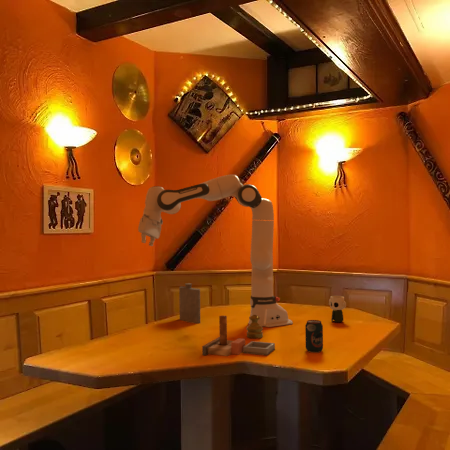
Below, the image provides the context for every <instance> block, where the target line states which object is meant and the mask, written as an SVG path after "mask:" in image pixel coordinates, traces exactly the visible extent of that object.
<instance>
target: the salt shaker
mask: <svg viewBox="0 0 450 450" xmlns="http://www.w3.org/2000/svg"><path fill="white" fill-rule="evenodd" d="M248 318H249V319H250V320H251V321H252V323H251V324H248V326H246V337H247V338H249V339H252V340H253V339H255V340H256V339H261V338H263V336H264V335H263V334H264V331H263V329H264V326H260V324H259V323H258V320H259V319H260V317H259V316H257V315H252V316H249V317H248Z"/></svg>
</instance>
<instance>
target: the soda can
mask: <svg viewBox="0 0 450 450" xmlns="http://www.w3.org/2000/svg"><path fill="white" fill-rule="evenodd" d="M323 326H324V325H323V324H322V321H321V320H319V319H308V320H306V323H305V326H304V327H305V328H304V329H305V332H304V334H305V349H306V351H307V352H309V353H316V354H319V353H321V352H322V351H323V349H324V327H323Z"/></svg>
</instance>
